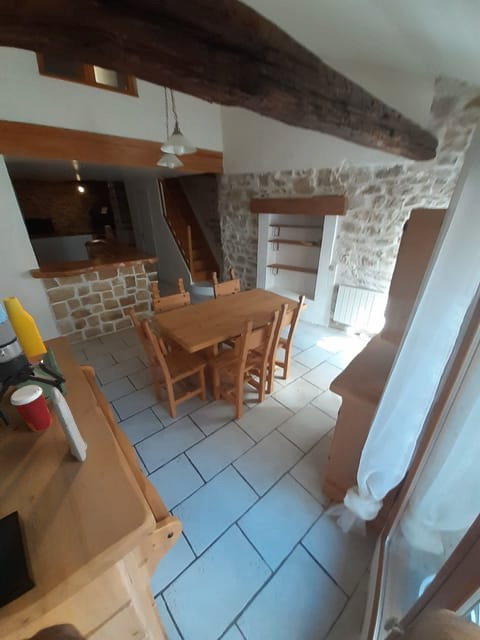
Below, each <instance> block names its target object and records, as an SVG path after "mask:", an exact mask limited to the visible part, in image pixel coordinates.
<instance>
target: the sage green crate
mask: <svg viewBox="0 0 480 640" xmlns="http://www.w3.org/2000/svg"><path fill="white" fill-rule="evenodd" d="M46 350H47V352H46V353H42V354H39V355H35V356H32V357H29V358H27V359H28V361H29V363H30V364H32V365H33V364H35V363H37V362H38V361H39V360H43V361H44V363H45V364H46V365H47V366H49V367H51V368H52V369H54V370H55V371H57V372H58V373H60V374H62V372H61V369H60V367H59V365H58V362H57V359H56V357H55V354H54V352H53V349H52V347H51V346H47V347H46ZM33 371H34V372H36V373H38V374H41V375H44V376H47V377H51V378H54V377H52V376H50V375H49V374H47V373H45V372H44V371H43V370H42V369H41V370H39V369H37V368H34V370H33ZM54 379H55V378H54ZM28 385H37V386H39V387H40V388H42V394H43V397H44V399H45V402H46V403H47V402H48V401H52V397H51V390H52V388H53V386H52V385H48V384H45V383H42V382H38V381H32V380H28V381H27V382H25V383H20V384H18V385H16V386H15V388H16V391H17V390H19V389H20V388H22V387H25V386H28ZM61 387H62V390H63V393H61V395H62V396H64V395H66V394H68V392H67V389H66V386H65V384H64V383H61Z"/></svg>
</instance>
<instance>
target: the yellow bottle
mask: <svg viewBox="0 0 480 640" xmlns="http://www.w3.org/2000/svg"><path fill="white" fill-rule="evenodd" d="M2 302H3V305H4V310H5V313H6V314H7V316H8V319H9V321H10V323H11V325H12V328H13V330H14V332H15V334H16V337H17V338H18V340H19V342H20V344H21V346H22V349H23V351H24V353H25V355H26V357H27V358H29V357H32V356H35V355H39V354H42V353H46V352H48V351H47V347H46V346H45V344H44V341H43V338H42V337H41V334H40V332H39V330H38V327H37V324H36V322H35V320H34V318H33V317H32V316H31V315H30V314H29V313H28V312H27V311H25V310H24V308H23V307H22V305H21V303H20V301H19V300H18V298H17V297H16V296H8V297H5V298H3V299H2Z"/></svg>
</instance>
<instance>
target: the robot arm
mask: <svg viewBox="0 0 480 640" xmlns="http://www.w3.org/2000/svg"><path fill="white" fill-rule="evenodd" d="M34 368H37V369H39V370H41V369H42V370H43V371H44V372H45V373H47V374H49V375H50V376H52V377H54V378H55V379H54V378H51V377H47V376H44V375H41V374H38V373H36V372H34V371H33V370H34ZM28 380H32V381H38V382H42V383H45V384H48V385H52V386H53V387H56V388H57V389H58V390H59V391H60V393H63V390H62V387H61V383H63V384H64V383H66V378H65V375H63V374H62V373H61V374H60V373H58V372H57V371H55V370H54V369H52V368H51V367H49V366H47V365H46V364H45V363H44V361H43V360H39V361H38V362H37V363H35V364H33V365H32V364H30V363H29V361H28V359H27V357H26V355H25V353H24V351H23V349H22V346H21V344H20V342H19V340H18V338H17V337H16V334H15V332H14V330H13V328H12V325H11V323H10V321H9V319H8V316H7V312H6V311H5V309H4V308H3V306H2V304H0V384H1V385H0V402H1V401H2V400H3V398H4V396H5V394H6V393H7V391H8V390H9V388H10V387H16V385H18V384H20V383H25V382H27V381H28ZM0 419H1V421H2V422H3V424H4V425H5V427H9V426H10V424H11V423H10V418H9V416H8V415H7V412H6V411H5V409H4V408H3V406H2V405H1V403H0Z"/></svg>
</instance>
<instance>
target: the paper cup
mask: <svg viewBox="0 0 480 640" xmlns="http://www.w3.org/2000/svg"><path fill="white" fill-rule="evenodd" d="M45 400H46V398H44V397H43V394H42V388H40V387H39V386H37V385H28V386H25V387H22V388H20V389H19V390H17V389H16V391H14V392H13V394H11V397H10V404H12V405H13V406H14V407H15V408H16V410H17V411H18V413H19V415H20V416H21V417H22V419H23V420H24V422H25V423H26V424H27V426H28V427H29V429H30V430H31V431H32V432H35V433H38V432H41V431H44V430H46V429H47V428H49V427H50V426H51V424H52V422H53V418H52V415H51V413H50V410H49V407H48V404H47V401H46V402H45Z"/></svg>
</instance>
